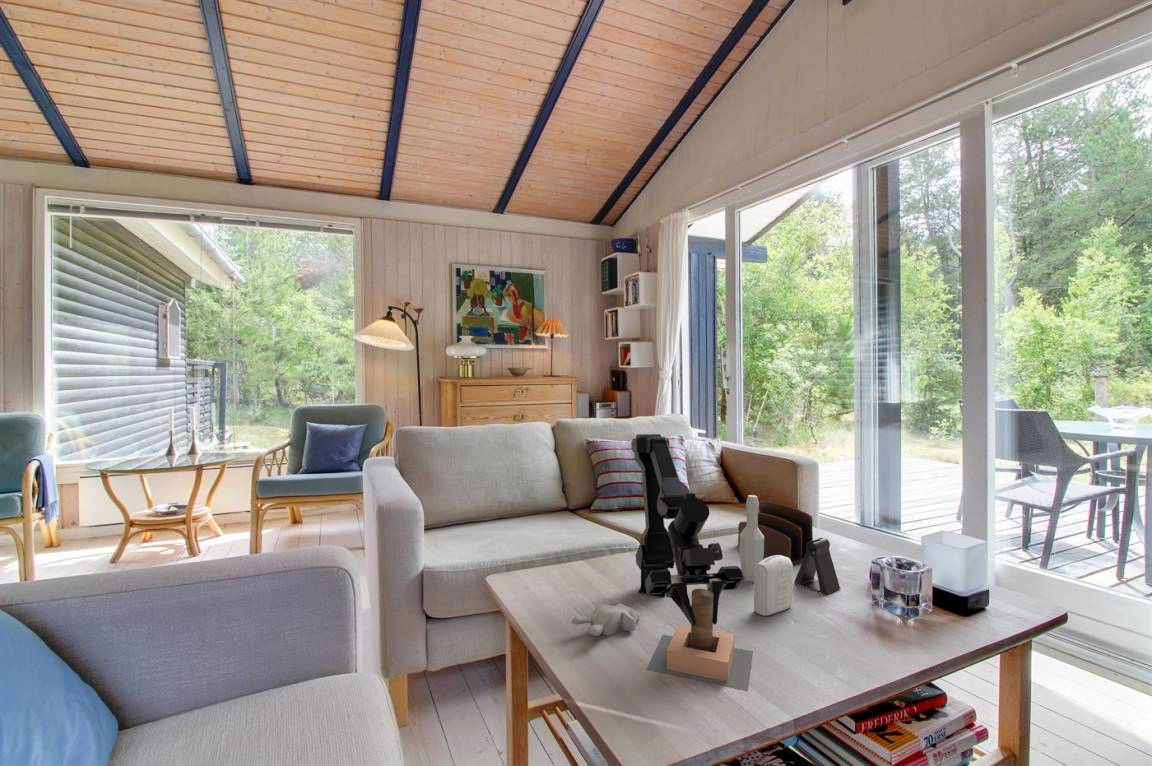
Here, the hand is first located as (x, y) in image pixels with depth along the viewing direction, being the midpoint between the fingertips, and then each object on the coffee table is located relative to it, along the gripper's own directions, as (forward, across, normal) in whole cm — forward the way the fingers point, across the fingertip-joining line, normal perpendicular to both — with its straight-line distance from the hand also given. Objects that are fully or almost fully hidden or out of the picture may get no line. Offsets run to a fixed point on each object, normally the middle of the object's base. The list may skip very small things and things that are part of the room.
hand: (704, 624), depth 104 cm
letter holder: (-34, +43, +46) cm, 72 cm away
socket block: (+4, 0, +6) cm, 8 cm away
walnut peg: (+4, 0, +6) cm, 7 cm away
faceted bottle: (-21, +28, +33) cm, 48 cm away
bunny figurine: (-5, -15, +17) cm, 23 cm away
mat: (+5, 0, +7) cm, 8 cm away
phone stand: (-16, +42, +28) cm, 53 cm away
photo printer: (-9, +24, +21) cm, 33 cm away
